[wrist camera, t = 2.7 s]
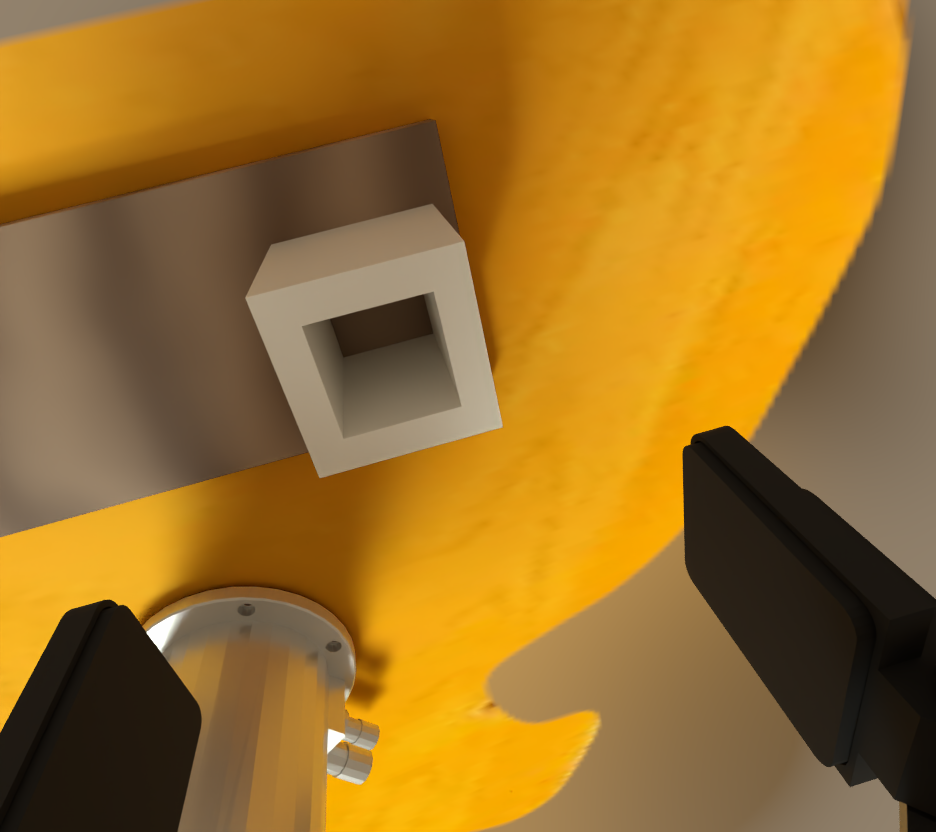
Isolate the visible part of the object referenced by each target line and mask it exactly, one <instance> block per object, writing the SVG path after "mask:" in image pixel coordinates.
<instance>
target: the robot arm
mask: <svg viewBox="0 0 936 832" xmlns="http://www.w3.org/2000/svg"><path fill="white" fill-rule="evenodd" d="M683 494H684V539H685V564H686V568H687V571H688V573H689V576H690V578H691V580H692V581H693V583H694V584H695V586H696V587H697V589H698V590H699V592H700V593H701V594H702V596H703V597H704V599H705V600H706V602H707V603H708V604H709V606H710V607H711V609H712V610H713V611H714V613H715V614H716V616H717V617H718V618H719V620H720V621H721V623H722V624H723V626H724V627H725V629H726V630H727V631H728V633H729V634H730V636H731V637H732V639H733V640H734V641H735V643H736V644H737V645H738V647H739V648H740V650H741V651H742V653H743V654H744V655H745V657H746V659H747V660H748V661H749V663H750V664H751V666H752V667H753V668H754V670H755V671H756V673H757V674H758V676H759V677H760V678H761V680H762V681H763V683H764V684H765V685H766V687H767V688H768V690H769V691H770V693H771V694H772V695H773V697H774V698H775V700H776V701H777V703H778V704H779V705H780V707H781V708H782V710H783V711H784V712H785V714H786V715H787V717H788V718H789V720H790V721H791V723H792V724H793V725H794V727H795V728H796V730H797V731H798V732H799V734H800V735H801V737H802V738H803V740H804V741H805V742H806V744H807V745H808V747H809V748H810V750H811V751H812V752H813V754H814V755H815V756H816V758H817V759H818V760H819V761H820V762H821V763H822V764H823V765H825V766H826V767H831V766H835V767H836V768H837V770H838V771H839V773H840V774H841V775H842V777H843V778H844V779H845V781H846V782H847V784H848V785H849V786H850V787H851V786H854V785H858V784H861V783H864V782H867V781H870V780H873V779H876V778H878V779H879V780H880V781H881V783H882V784H883V785H884V786H885V788H886V789H887V790H888V792H889V793H890V794H891V795H892V797H893V798H894V799H895V800H897V801H899V832H936V599H935V598H934V597H932V596H931V595H930V594H929V593H928V592H927V591H925V590H924V589H923V588H922V587H921V586H920V585H919V584H917V583H916V582H915V581H914V580H913V579H912V578H910V577H909V576H908V575H907V574H906V573H905V572H903V571H902V570H901V569H900V568H899V567H898V566H897V565H895V564H894V563H893V562H892V561H891V560H890V559H889V558H887V557H886V556H885V555H884V554H883V553H882V552H880V551H879V550H878V549H877V548H876V547H875V546H874V545H872V544H871V543H870V542H869V541H868V540H867V539H865V538H864V537H863V536H862V535H861V534H860V533H859V532H857V531H856V530H855V529H854V528H853V527H852V526H850V525H849V524H848V523H847V522H846V521H845V520H844V519H842V518H841V517H840V516H839V515H838V514H837V513H835V512H834V511H833V510H832V509H831V508H830V507H828V506H827V505H826V504H825V503H824V502H823V501H821V500H820V499H819V498H818V497H817V496H816V495H814V494H813V493H811V492H810V491H808V490H805V489H801V488H800V487H799V486H798V485H797V484H796V483H795V482H794V481H792V480H791V479H790V478H789V477H788V476H787V475H786V474H784V473H783V472H782V471H781V470H780V469H779V468H778V467H776V466H775V465H774V464H773V463H772V462H771V461H770V460H769V459H767V458H766V457H765V456H764V455H763V454H762V453H760V452H759V451H758V450H757V449H756V448H755V447H754V446H753V445H751V444H750V443H749V442H748V441H747V440H746V439H745V438H743V437H742V436H741V435H740V434H739V433H738V432H737V431H736V430H734V429H733V428H731V427H730V426H723V427H720V428H716V429H713V430H709V431H705V432H702V433H698V434H695V435H694V436H693V437H692V439H691V445H688V446H685V447H684V449H683ZM355 675H356V652H355V649H354V645H353V641H352V638H351V636H350V635H349V633H348V631H347V629H346V628H345V626H344V625H343V624H342V623H341V622H340V621H339V620H338V619H337V618H336V616H335V615H334V614H333V613H331V612H330V611H328V610H327V609H325V608H324V607H322V606H321V605H319V604H318V603H316V602H314V601H311V600H309V599H307V598H305V597H303V596H300V595H297V594H294V593H290V592H286V591H283V590H279V589H272V588H264V587H255V586H254V587H227V588H221V589H215V590H208V591H205V592H201V593H198V594H195V595H192V596H188V597H185V598H183V599H181V600H179V601H177V602H175V603H173V604H171V605H169V606H166V607H165V608H163V609H162V610H161V611H159V612H158V613H156V614H155V615H154V616H152V617H151V618H150V619H148V620H147V622H146V623H145V624H144V625H143V626H142V625H141V624H140V623H139V621H138V620H137V618H136V617H135V616H134V614H133V613H132V612H131V610H130V609H129V608H128V607H127V606H124V605H119V606H118V605H117V604H116V603H115V602H114V601H112V600H103V601H100V602H96V603H92V604H89V605H85V606H82V607H78V608H75V609H71V610H69V611H68V612H66V613H65V614H64V616H63V617H62V618H61V620H60V622H59V624H58V626H57V628H56V630H55V632H54V633H53V635H52V637H51V639H50V641H49V643H48V645H47V647H46V648H45V650H44V652H43V654H42V656H41V658H40V660H39V661H38V663H37V665H36V667H35V669H34V671H33V673H32V675H31V676H30V678H29V680H28V682H27V684H26V686H25V688H24V690H23V691H22V693H21V695H20V697H19V699H18V701H17V703H16V704H15V706H14V708H13V710H12V712H11V714H10V716H9V718H8V719H7V721H6V723H5V725H4V727H3V729H2V731H1V733H0V832H325V830H326V789H327V773H328V774H331V775H332V776H333V777H336V778H339V779H342V780H345V781H349V782H352V783H355V784H362V783H363V782H364V781H365V780H366V779H367V777H368V775H369V773H370V770H371V767H372V760H373V757H372V753H371V751H369V750H371V749H373V748H374V746H375V745H376V743H377V741H378V738H379V727H378V726H377V725H374V724H372V723H369V722H366V721H363V720H361V719H358V720H357V719H354V718H352V717H349V713H348V711H347V710H346V709H345V702H346V700H347V699H348V697H349V695H350V693H351V690H352V688H353V686H354V682H355ZM341 740H345V741H348V742H349V743H348V742H343V743H342V742H340V741H341ZM350 743H351V744H350Z"/></svg>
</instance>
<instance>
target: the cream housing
mask: <svg viewBox="0 0 936 832" xmlns="http://www.w3.org/2000/svg"><path fill="white" fill-rule="evenodd" d="M422 294H424V298H425V302H426V306H427V310H428V314H429V318H430V321H431V325H432V329H433V334H430V335H426V336H422V337H418V338H415V339H411V340H407V341H404V342H400V343H396V344H392V345H389V346H385V347H381V348H377V349H374V350H370V351H366V352H362V353H359V354H355V355H351V356H347V357H344V358H343V355H342V352H341V349H340V347H339V344H338V341H337V338H336V335H335V332H334V329H333V326H332V323H331V320H330V319H331V318H334V317H338V316H342V315H346V314H350V313H353V312H357V311H361V310H365V309H369V308H372V307H376V306H380V305H384V304H388V303H391V302H395V301H399V300H403V299H407V298H410V297H414V296H418V295H422ZM245 299H246V301H247V304H248V306H249V308H250V311H251V313H252V316H253V318H254V320H255V323H256V325H257V328H258V330H259V333H260V335H261V337H262V340H263V342H264V345H265V347H266V350H267V352H268V354H269V357H270V359H271V362H272V364H273V367H274V369H275V371H276V374H277V376H278V379H279V381H280V384H281V386H282V388H283V391H284V393H285V396H286V398H287V400H288V403H289V405H290V408H291V410H292V413H293V415H294V417H295V420H296V422H297V425H298V427H299V430H300V432H301V434H302V437H303V439H304V442H305V444H306V447H307V449H308V451H309V454H310V456H311V459H312V461H313V464H314V466H315V468H316V471H317V473H318V476H319V478H323V477H326V476H330V475H333V474H337V473H340V472H344V471H348V470H351V469H355V468H358V467H362V466H366V465H369V464H373V463H376V462H380V461H383V460H387V459H391V458H394V457H398V456H401V455H405V454H408V453H412V452H416V451H419V450H423V449H426V448H430V447H434V446H437V445H441V444H444V443H448V442H451V441H455V440H459V439H462V438H466V437H469V436H473V435H477V434H480V433H484V432H487V431H491V430H494V429H498V428H502V427H503V425H502V420H501V415H500V410H499V406H498V401H497V396H496V391H495V386H494V382H493V377H492V372H491V367H490V362H489V358H488V353H487V348H486V343H485V338H484V334H483V329H482V324H481V319H480V314H479V309H478V305H477V300H476V295H475V290H474V285H473V281H472V276H471V271H470V266H469V261H468V257H467V252H466V247H465V242H464V240H463V239H462V238H461V237H460V236H459V234H458V233H457V232H456V231H455V230H454V229H453V227H452V226H451V225H450V224H449V223H448V221H447V220H446V219H445V218H444V217H443V216H442V214H441V213H440V212H439V211H438V210H437V209H436V207H435V206H434V205H433V204H429V205H425V206H421V207H417V208H413V209H409V210H405V211H401V212H398V213H394V214H390V215H386V216H382V217H378V218H374V219H370V220H366V221H362V222H358V223H354V224H350V225H346V226H342V227H338V228H334V229H331V230H327V231H323V232H319V233H315V234H311V235H307V236H303V237H299V238H295V239H291V240H287V241H283V242H279V243H275V244H271V246H270V248H269V250H268V252H267V254H266V256H265V258H264V260H263V262H262V264H261V266H260V268H259V271H258V273H257V275H256V277H255V279H254V281H253V283H252V285H251V287H250V289H249V291H248V293H247V295H246V297H245Z"/></svg>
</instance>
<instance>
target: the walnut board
mask: <svg viewBox="0 0 936 832" xmlns="http://www.w3.org/2000/svg"><path fill="white" fill-rule="evenodd" d="M429 204H433V205H434V206H435V207H436V209H437V210H438V211H439V212H440V213H441V214H442V216H443V217H444V218H445V219H446V220H447V221H448V223H449V224H450V225H451V226H452V227H453V229H454V230H455V231H456V232H457V233H458V234H459V230H458V225H457V220H456V215H455V211H454V206H453V201H452V196H451V192H450V187H449V182H448V177H447V173H446V168H445V163H444V158H443V154H442V149H441V144H440V139H439V135H438V130H437V125H436V120H432V119H429V120H425V121H421V122H417V123H413V124H409V125H404V126H400V127H396V128H392V129H388V130H384V131H380V132H376V133H372V134H368V135H364V136H359V137H355V138H351V139H347V140H343V141H339V142H335V143H331V144H327V145H323V146H319V147H315V148H310V149H306V150H302V151H298V152H294V153H290V154H286V155H282V156H278V157H274V158H270V159H265V160H261V161H257V162H253V163H249V164H245V165H241V166H237V167H233V168H229V169H225V170H220V171H216V172H212V173H208V174H204V175H200V176H196V177H192V178H188V179H184V180H180V181H176V182H171V183H167V184H163V185H159V186H155V187H151V188H147V189H143V190H139V191H135V192H131V193H126V194H122V195H118V196H114V197H110V198H106V199H102V200H98V201H94V202H90V203H86V204H81V205H77V206H73V207H69V208H65V209H61V210H57V211H53V212H49V213H45V214H41V215H37V216H32V217H28V218H24V219H20V220H16V221H12V222H8V223H4V224H0V537H3V536H6V535H10V534H14V533H17V532H21V531H24V530H28V529H32V528H35V527H39V526H43V525H46V524H50V523H53V522H57V521H61V520H64V519H68V518H71V517H75V516H79V515H82V514H86V513H90V512H93V511H97V510H100V509H104V508H108V507H111V506H115V505H119V504H122V503H126V502H129V501H133V500H137V499H140V498H144V497H147V496H151V495H155V494H158V493H162V492H166V491H169V490H173V489H176V488H180V487H184V486H187V485H191V484H195V483H198V482H202V481H205V480H209V479H213V478H216V477H220V476H223V475H227V474H231V473H234V472H238V471H242V470H245V469H249V468H252V467H256V466H260V465H263V464H267V463H271V462H274V461H278V460H281V459H285V458H289V457H292V456H296V455H299V454H303V453H307V452H309V451H308V449H307V447H306V444H305V442H304V439H303V437H302V434H301V432H300V430H299V427H298V425H297V422H296V420H295V417H294V415H293V413H292V410H291V408H290V405H289V403H288V400H287V398H286V396H285V393H284V391H283V388H282V386H281V384H280V381H279V379H278V376H277V374H276V371H275V369H274V367H273V364H272V362H271V359H270V357H269V354H268V352H267V350H266V347H265V345H264V342H263V340H262V337H261V335H260V333H259V330H258V328H257V325H256V323H255V320H254V318H253V316H252V313H251V311H250V308H249V306H248V304H247V301H246V299H245V297H246V295H247V293H248V291H249V289H250V287H251V285H252V283H253V281H254V279H255V277H256V275H257V273H258V271H259V268H260V266H261V264H262V262H263V260H264V258H265V256H266V254H267V252H268V250H269V248H270V246H271V244H275V243H279V242H283V241H287V240H291V239H295V238H299V237H303V236H307V235H311V234H315V233H319V232H323V231H327V230H331V229H334V228H338V227H342V226H346V225H350V224H354V223H358V222H362V221H366V220H370V219H374V218H378V217H382V216H386V215H390V214H394V213H398V212H401V211H405V210H409V209H413V208H417V207H421V206H425V205H429ZM459 236H460V234H459ZM330 320H331V323H332V326H333V329H334V332H335V335H336V338H337V341H338V344H339V347H340V349H341V352H342V355H343V358H344V357H347V356H351V355H355V354H359V353H362V352H366V351H370V350H374V349H377V348H381V347H385V346H389V345H392V344H396V343H400V342H404V341H407V340H411V339H415V338H418V337H422V336H426V335H430V334H433V329H432V325H431V321H430V318H429V314H428V310H427V306H426V302H425V298H424V294H422V295H418V296H414V297H410V298H407V299H403V300H399V301H395V302H391V303H388V304H384V305H380V306H376V307H372V308H369V309H365V310H361V311H357V312H353V313H350V314H346V315H342V316H338V317H334V318H331V319H330Z"/></svg>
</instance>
